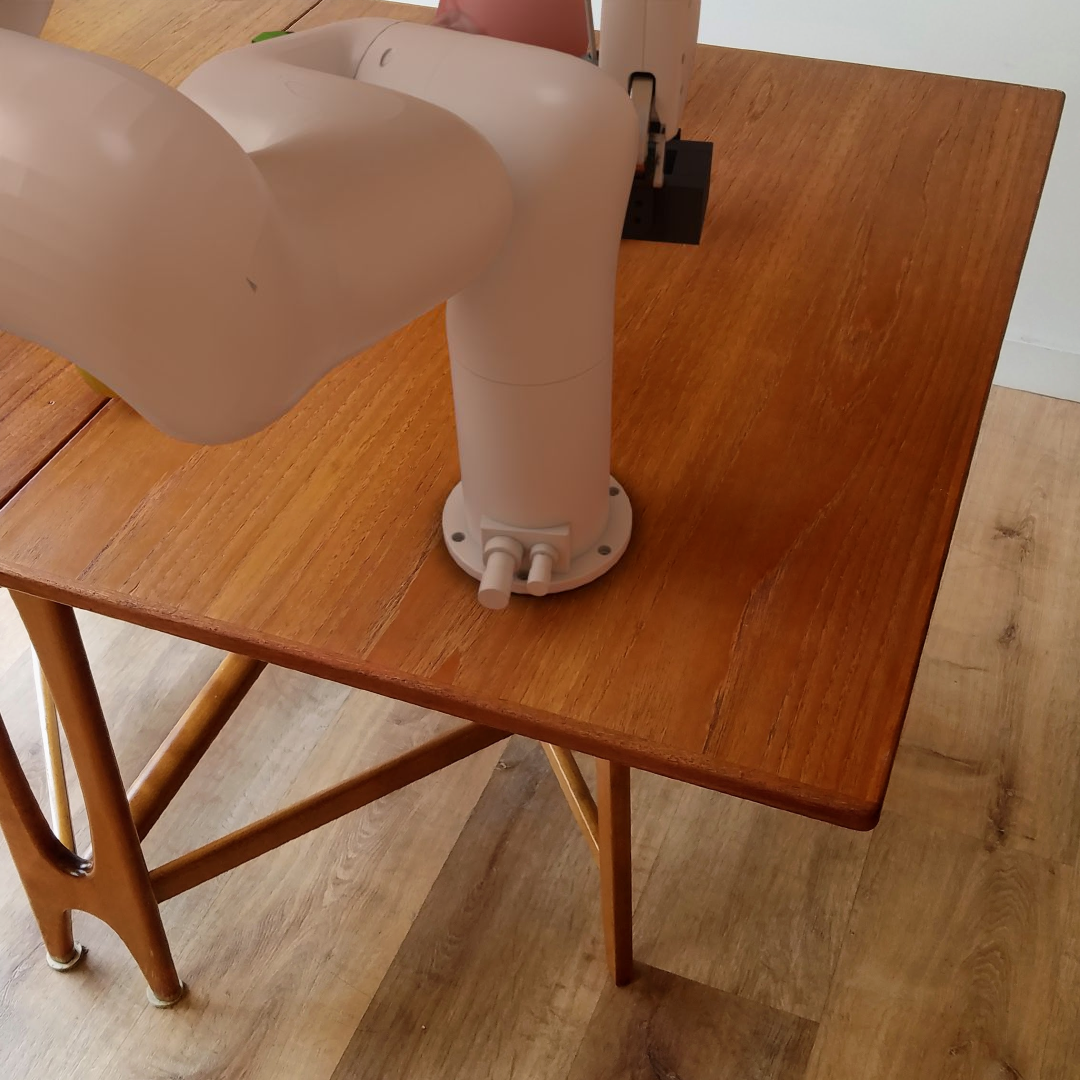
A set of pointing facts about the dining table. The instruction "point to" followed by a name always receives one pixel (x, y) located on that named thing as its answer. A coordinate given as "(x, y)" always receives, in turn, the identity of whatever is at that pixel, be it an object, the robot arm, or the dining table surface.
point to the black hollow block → (686, 188)
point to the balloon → (520, 21)
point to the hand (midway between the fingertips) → (646, 208)
